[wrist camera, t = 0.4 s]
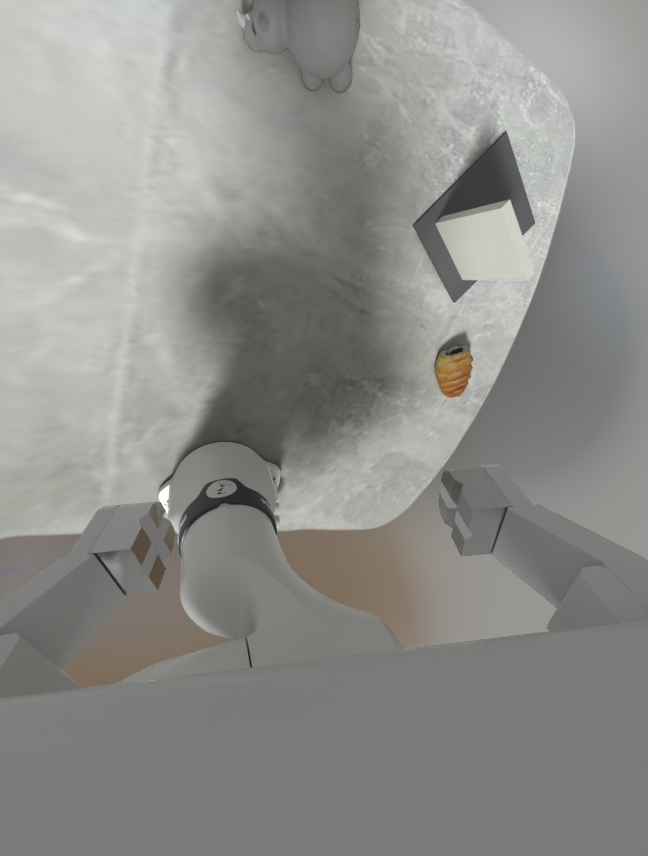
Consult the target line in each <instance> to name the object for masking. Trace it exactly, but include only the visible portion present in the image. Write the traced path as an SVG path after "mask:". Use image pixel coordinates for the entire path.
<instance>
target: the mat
mask: <svg viewBox="0 0 648 856" xmlns="http://www.w3.org/2000/svg"><path fill="white" fill-rule="evenodd" d="M509 199H510V201H511V204H512V207H513V210H514V213H515V216H516V218H517V221H518V224H519V227H520V230H521V233H522V236H523V235H524V234H525V233H526V232H527V231H528V230H529V229H530V228H531V227H532V226H533V225H534V224H535V221H534V218H533V215H532V212H531V208H530V205H529V202H528V199H527V196H526V192H525V189H524V186H523V183H522V180H521V176H520V173H519V170H518V167H517V164H516V160H515V157H514V154H513V151H512V148H511V144H510V141H509V138H508V135H507V132H506V133H504V134H503V135H502V136H501V137H500V138H499V139H498V140H497V141H496V142H495V143H494V144H493V145H492V146H491V147H490V148H489V149H488V150H487V151H486V152H485V153H484V154H483V155H482V156H481V157H480V158H479V159H478V160H477V161H476V162H475V163H474V164H473V165H472V166H471V167H470V168H469V169H468V170H467V171H466V172H465V173H464V174H463V175H462V176H461V177H460V179H459V180H458V181H457V182H456V183H455V184H454V185H453V186H452V187H451V188H450V189H449V190H448V191H447V192H446V193H445V194H444V195H443V196H442V197H441V198H440V199H439V200H438V201H437V202H436V203H435V204H434V205H433V206H432V207H431V208H430V209H429V210H428V211H427V212H426V213H425V214H424V215H423V216H422V217H421V218H420V219H419V220H418V221H417V222H416V223H415V224H414V225H413V227H414V229H415V230H416V232H417V234H418V236H419V238H420V240H421V242H422V244H423V246H424V248H425V250H426V251H427V253H428V255H429V257H430V259H431V261H432V263H433V265H434V267H435V269H436V270H437V272H438V274H439V276H440V278H441V280H442V282H443V284H444V286H445V288H446V290H447V291H448V293H449V295H450V297H451V299H452V301H453V302H454V303H455V302H456V301H457V300H458V299H459V298H460V297H461V296H462V295H463V294H464V293H465V292H466V291H467V290H468V289H469V288H470V287H471V286H472V285H473V284H474V283H475V282H476V281H477V280H462V278H461V276H460V274H459V272H458V270H457V268H456V266H455V264H454V262H453V260H452V257H451V255H450V253H449V251H448V249H447V247H446V245H445V243H444V241H443V239H442V237H441V235H440V233H439V231H438V229H437V227H436V224H435V223H436V222H437V221H438V220H439V219H440V218H441V217H442V216H446V215H450V214H454V213H458V212H462V211H466V210H470V209H474V208H478V207H481V206H485V205H489V204H493V203H497V202H501V201H505V200H509Z"/></svg>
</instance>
